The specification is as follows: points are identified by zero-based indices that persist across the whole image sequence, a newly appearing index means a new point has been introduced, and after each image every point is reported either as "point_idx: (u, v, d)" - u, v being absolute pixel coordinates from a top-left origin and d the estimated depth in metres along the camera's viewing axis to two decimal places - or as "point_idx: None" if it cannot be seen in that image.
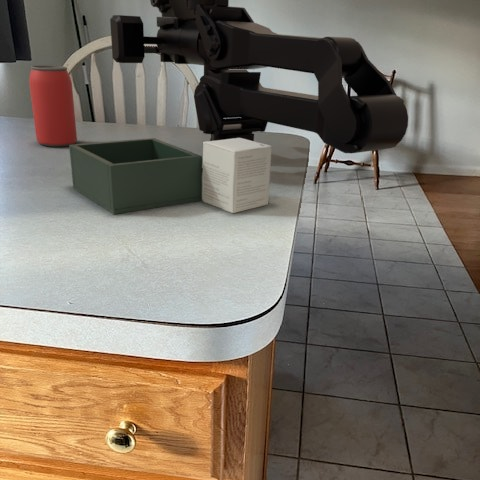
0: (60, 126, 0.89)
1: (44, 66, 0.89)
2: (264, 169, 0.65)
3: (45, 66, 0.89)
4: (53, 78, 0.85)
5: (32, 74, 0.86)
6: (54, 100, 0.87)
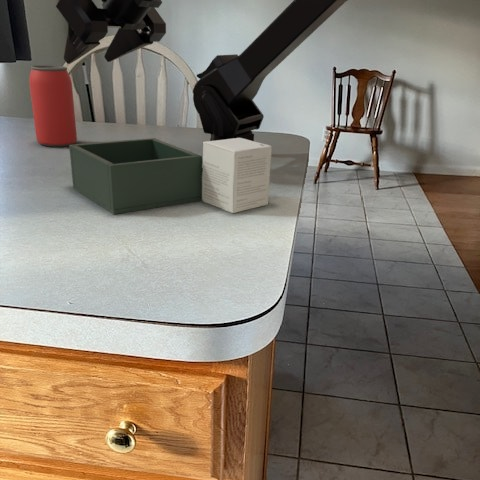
0: (60, 126, 0.89)
1: (44, 66, 0.89)
2: (264, 169, 0.65)
3: (45, 66, 0.89)
4: (53, 78, 0.85)
5: (32, 74, 0.86)
6: (54, 100, 0.87)
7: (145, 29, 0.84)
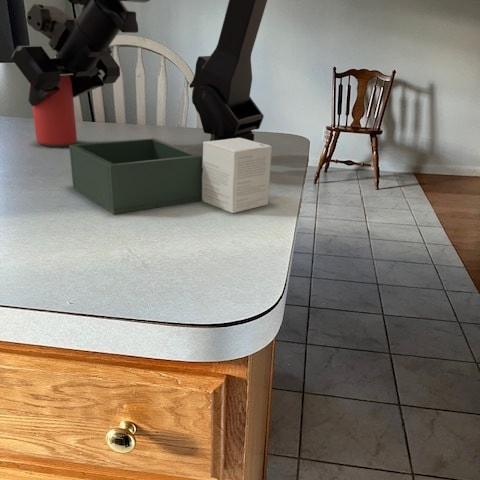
0: (60, 126, 0.89)
1: None
2: (264, 169, 0.65)
3: None
4: None
5: None
6: (54, 100, 0.87)
7: None
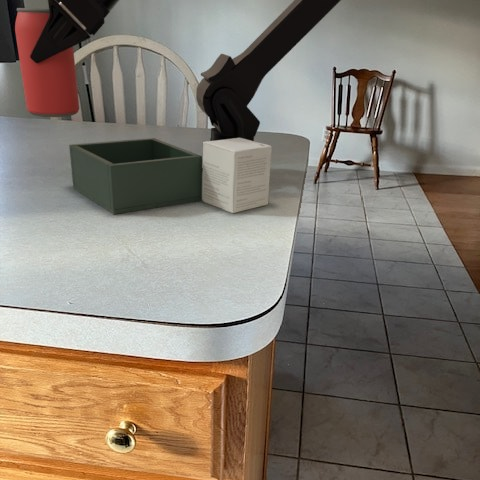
0: (72, 88, 0.69)
1: None
2: (264, 169, 0.65)
3: None
4: None
5: (31, 19, 0.63)
6: (65, 53, 0.66)
7: None
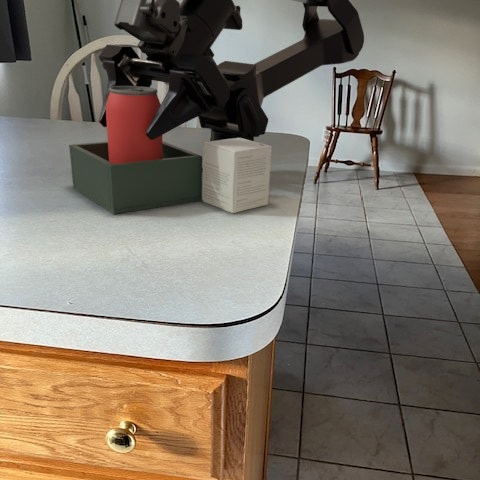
0: None
1: None
2: (264, 169, 0.65)
3: None
4: (159, 102, 0.64)
5: (141, 102, 0.61)
6: None
7: None
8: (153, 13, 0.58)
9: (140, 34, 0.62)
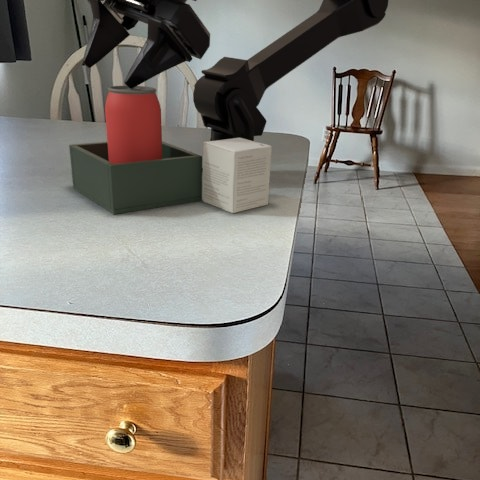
0: None
1: None
2: (264, 169, 0.65)
3: None
4: (158, 101, 0.64)
5: (140, 101, 0.61)
6: (161, 130, 0.66)
7: None
8: None
9: None
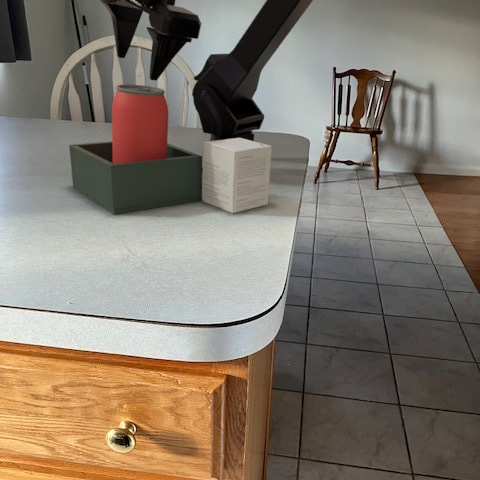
0: None
1: None
2: (264, 169, 0.65)
3: None
4: None
5: (149, 102, 0.61)
6: (167, 132, 0.66)
7: None
8: None
9: None
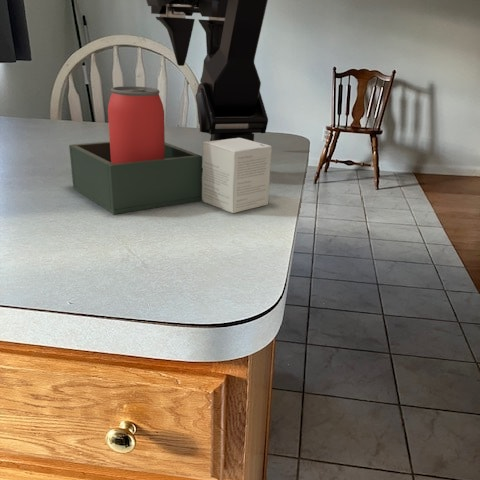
0: None
1: (113, 90, 0.62)
2: (264, 169, 0.65)
3: (113, 90, 0.62)
4: None
5: (143, 102, 0.61)
6: None
7: None
8: None
9: None
